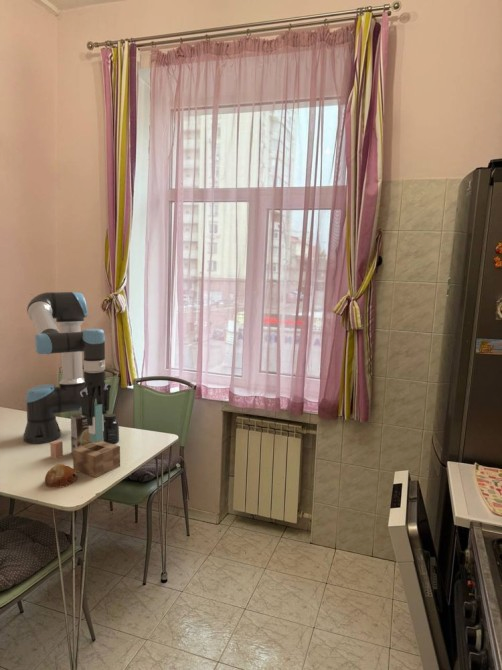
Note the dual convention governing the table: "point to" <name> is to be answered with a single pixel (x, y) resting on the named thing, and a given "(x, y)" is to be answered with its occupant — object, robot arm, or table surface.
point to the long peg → (97, 424)
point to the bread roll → (60, 476)
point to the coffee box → (79, 431)
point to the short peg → (56, 449)
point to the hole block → (96, 458)
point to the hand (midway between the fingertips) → (96, 431)
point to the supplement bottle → (111, 429)
